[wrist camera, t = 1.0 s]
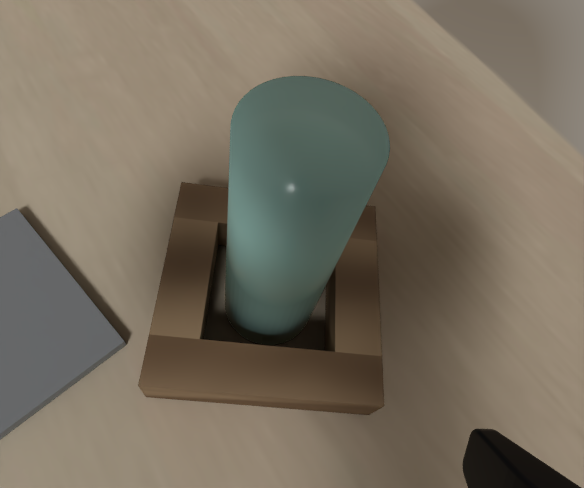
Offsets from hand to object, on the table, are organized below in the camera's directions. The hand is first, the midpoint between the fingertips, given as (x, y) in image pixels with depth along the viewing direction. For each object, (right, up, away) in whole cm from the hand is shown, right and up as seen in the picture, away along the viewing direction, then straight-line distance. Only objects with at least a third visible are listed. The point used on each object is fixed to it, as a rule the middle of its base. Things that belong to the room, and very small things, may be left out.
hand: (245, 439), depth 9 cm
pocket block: (0, 0, +17) cm, 17 cm away
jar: (0, 0, +17) cm, 17 cm away
